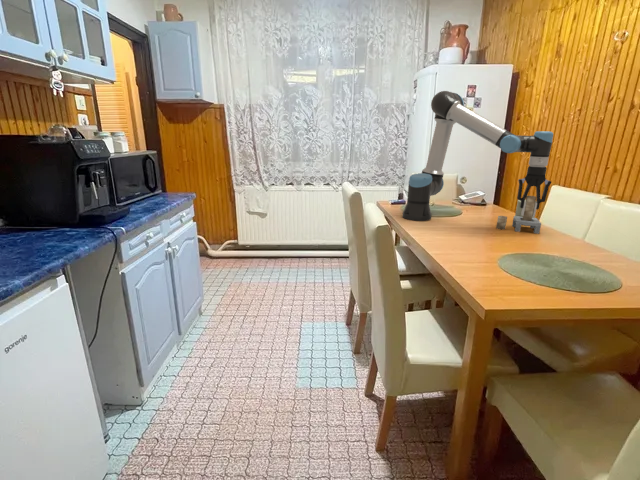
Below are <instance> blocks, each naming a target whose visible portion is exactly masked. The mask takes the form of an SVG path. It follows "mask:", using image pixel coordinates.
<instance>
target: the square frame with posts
mask: <svg viewBox="0 0 640 480" xmlns="http://www.w3.org/2000/svg"><path fill="white" fill-rule="evenodd" d="M522 218H523V217H519V216H515V215H514V216H513V219H512V224H511V226H512V227H514V232H517V233H521V229H522V228H521V227H522V226H524V225H529V226H528V227H529V228H530V229H533V228H534V229H533V234H539V235H540V231H541V227H542V222H540V220H539V219H538V218H537V217H534V218H532V221H524V220H522Z"/></svg>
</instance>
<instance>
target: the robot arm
mask: <svg viewBox="0 0 640 480" xmlns="http://www.w3.org/2000/svg"><path fill="white" fill-rule="evenodd" d="M430 103H431V104H430V107H431V110H432V112H433V113H434V118H433V119H434V121H435V128H434V130H433V136H432V141H431V143H430V149H429V154H428V158H427V161H426V165H425V167H424V168H423V169H422V170H421V173H414V174H411V175H410V176H409V178H408V189H407V198H406V199H407V200H406V204H405V207H404V209H403V211H402V218H403V219H405V220H409V221H417V222H424V221H430V220H431V219H432V212H431V207H430V206H431V205H430V202H431V201H430V200H431V196H432V197H433V196H436V195H437V194H439V193H440V192H441V191H443V187H444V179H443V178H444V175H445V173H444V171H443V167H444V164H445V158H446V154H447V150H448V146H449V143H450V140H451V136H452V132H453V127H454V125H455V124H458V125H460V126H462V127H463V128H465V129H466V130H468V131H471V132H472V133H474V134H476V135H477V136H479V137H481V138H482V139H484V140H486V141H487V142H490V143H491V144H493V145H494V146H496V147H497V148H499V149H500V150H501V151H502V152H503V153H506V154H514V153H530V157H529V161H528V165H529V166H527V171H526V175H525V176H524V178H519V179H518V180H517V181H518V191H517V197H516V198H517V201H518V200H520V201H521V204H520V208H522V212H521V215H522V216H524V211H525V206H526V202H525V200H526V197H527V196H528V194H529V192H530V190H531V188H532V187H535V188H536V189H535V192H536V193H535V194H536V202H535V206H534V211H533V216H534V218H536V212H537V210H539V209H540V205H541V203H545V202H546V199H547V194H548V191H549V188H550V186H551V184H552V181H551V180H548V179H547V178H546V174H547V166H548V164H549V159H550V155H551V150H552V145H553V139H554V132H553V131H548V130H545V131H543V130H542V131H541V130H539V131H535V132H534V134H533V135H517V134H515V133H512V132H511V131H508V130H507V129H505V128H503V127H501V126H500V125H498V124H496V123H495V122H493V121H491V120H489V119H487V118H485V117H484V116H482V115H480V114H479V113H477V112H475V111H473V110H471V109H469V108H468V107H466V106H465V102H464V99H463V98H462V96H461V95H460V94H458V93H455V92H452V91H448V90H442V91H441V90H440V91H439V92H437V93H436V94H434V96H433V98H432V99H431V102H430ZM524 183H526V184H527V185H526V186H525V187H526V188H525V190H524V192H523V186H524V185H523V184H524ZM543 183H544V188H543V191H542V195H541V185H542V184H543ZM522 193H523V195H522Z"/></svg>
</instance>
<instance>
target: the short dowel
mask: <svg viewBox="0 0 640 480" xmlns="http://www.w3.org/2000/svg"><path fill="white" fill-rule="evenodd" d="M507 220H508V216H506V215H498V216H497V221H496V225H495V226H496V227H495V228H496V230H503V231H504V230H506V226H507V223H508V222H507Z"/></svg>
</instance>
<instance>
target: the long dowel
mask: <svg viewBox="0 0 640 480" xmlns="http://www.w3.org/2000/svg"><path fill="white" fill-rule="evenodd" d="M525 200H526V206H525V211H524V216H523V218H522V220H524V221H532V216H533V211H534V206H535V202H537V198H536V196H535V195H527V197H526V199H525ZM523 226H525V227H530V226H529V225H523Z"/></svg>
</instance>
